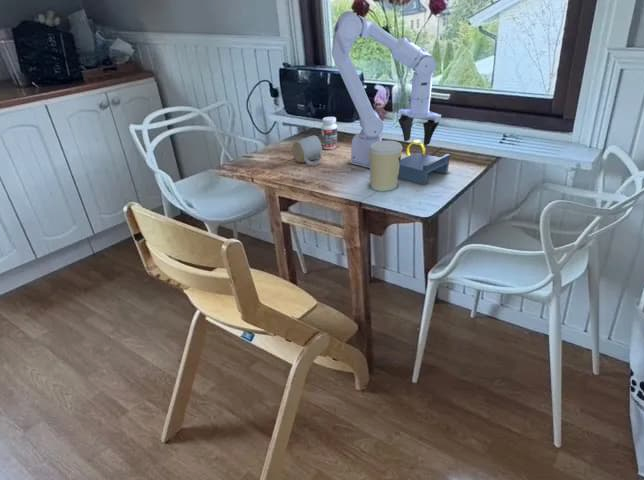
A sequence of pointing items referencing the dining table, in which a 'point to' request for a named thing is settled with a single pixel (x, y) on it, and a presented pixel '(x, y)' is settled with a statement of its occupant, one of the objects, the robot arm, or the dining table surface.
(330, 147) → the pill bottle
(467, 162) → the dining table surface
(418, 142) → the watch
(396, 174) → the coffee cup
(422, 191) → the dining table surface
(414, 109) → the robot arm
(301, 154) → the ceramic mug
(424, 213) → the dining table surface
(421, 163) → the blue stand
